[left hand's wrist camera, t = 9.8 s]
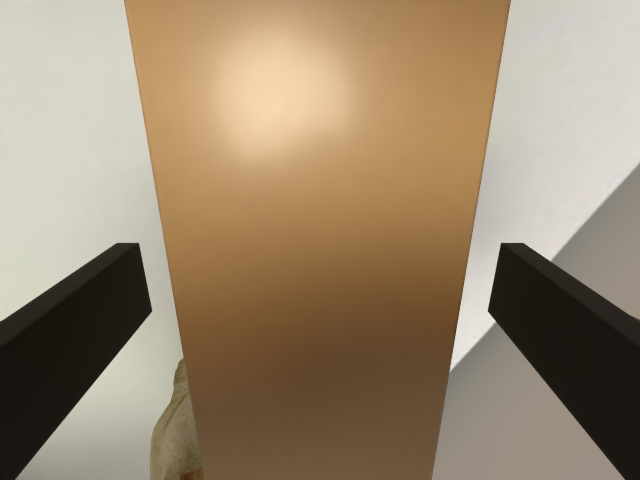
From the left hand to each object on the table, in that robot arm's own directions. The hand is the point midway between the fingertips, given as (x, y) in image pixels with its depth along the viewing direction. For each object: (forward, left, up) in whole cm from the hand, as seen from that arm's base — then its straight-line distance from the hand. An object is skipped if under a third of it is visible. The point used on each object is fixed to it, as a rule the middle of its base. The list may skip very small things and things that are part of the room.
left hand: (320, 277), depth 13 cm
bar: (+6, +3, -3) cm, 7 cm away
